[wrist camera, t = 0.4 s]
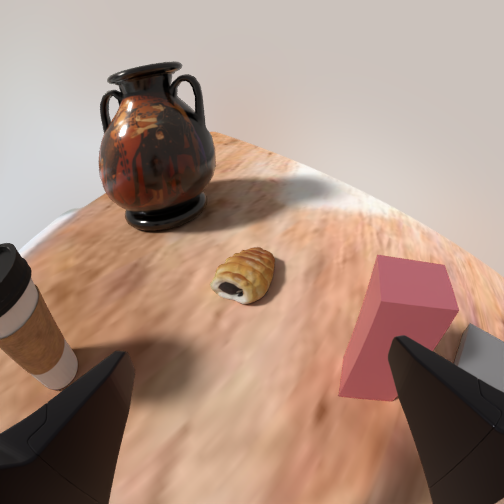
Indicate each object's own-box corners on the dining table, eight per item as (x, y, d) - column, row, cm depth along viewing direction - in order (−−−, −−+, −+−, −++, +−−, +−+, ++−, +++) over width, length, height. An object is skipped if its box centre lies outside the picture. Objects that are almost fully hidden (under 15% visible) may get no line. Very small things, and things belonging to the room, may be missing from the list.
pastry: (243, 253, 41) (241, 231, 39) (286, 265, 39) (287, 242, 36) (207, 295, 34) (203, 271, 32) (256, 313, 32) (255, 289, 30)
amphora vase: (226, 186, 61) (216, 59, 44) (212, 241, 44) (191, 52, 27) (137, 192, 62) (117, 78, 45) (97, 244, 45) (56, 90, 28)
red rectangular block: (392, 401, 21) (459, 310, 13) (338, 396, 22) (381, 301, 15) (393, 362, 24) (444, 264, 17) (343, 357, 26) (377, 254, 18)
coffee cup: (88, 336, 29) (30, 231, 20) (87, 396, 22) (0, 291, 13) (37, 346, 26) (-24, 252, 18) (30, 401, 20) (-55, 308, 11)
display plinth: (515, 480, 8) (527, 475, 7) (421, 438, 17) (431, 431, 16) (538, 376, 17) (547, 367, 16) (462, 333, 26) (469, 323, 24)
